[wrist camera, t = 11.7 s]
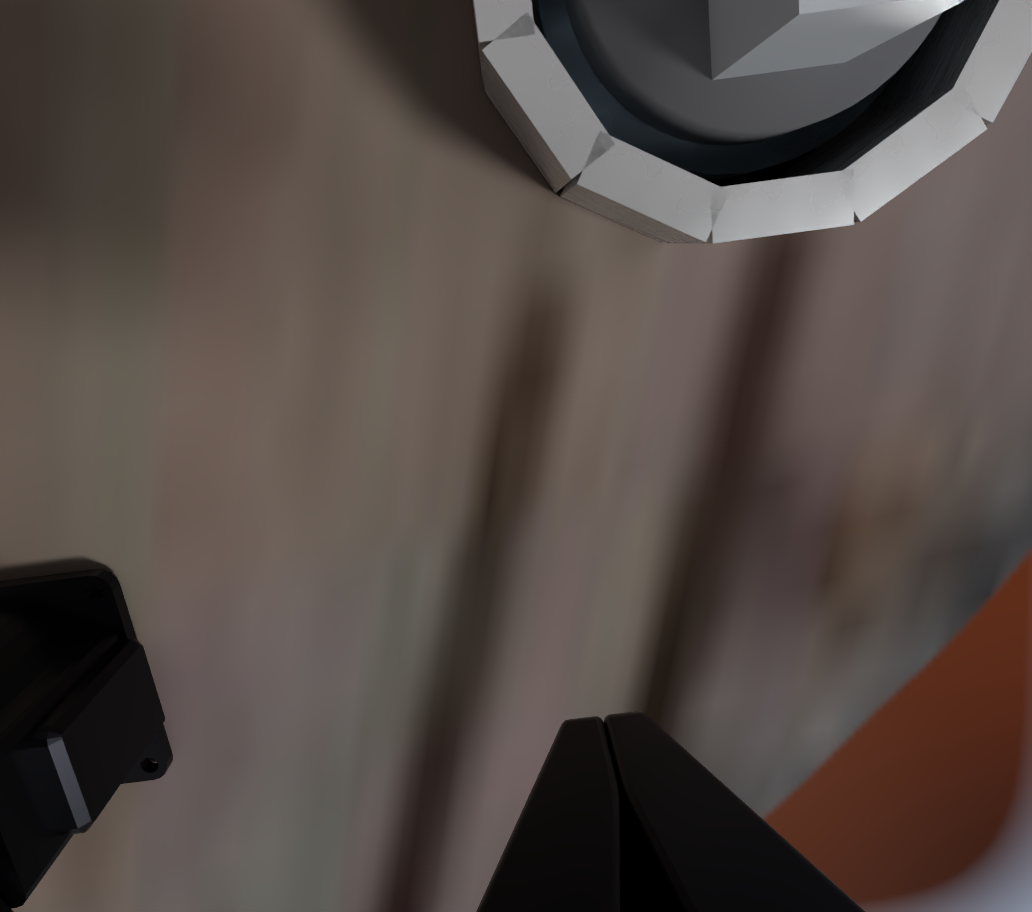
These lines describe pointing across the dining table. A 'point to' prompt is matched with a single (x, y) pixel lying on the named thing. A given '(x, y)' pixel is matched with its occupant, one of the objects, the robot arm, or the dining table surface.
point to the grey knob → (746, 59)
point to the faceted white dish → (752, 206)
